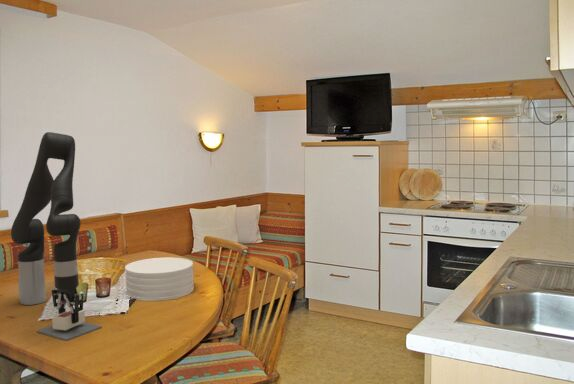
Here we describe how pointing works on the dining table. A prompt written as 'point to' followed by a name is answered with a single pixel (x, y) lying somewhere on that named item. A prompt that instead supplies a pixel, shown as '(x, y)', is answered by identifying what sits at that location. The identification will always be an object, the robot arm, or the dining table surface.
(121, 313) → the chocolate bar
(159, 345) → the dining table surface
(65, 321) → the card box
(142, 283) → the plate stack
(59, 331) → the mat
